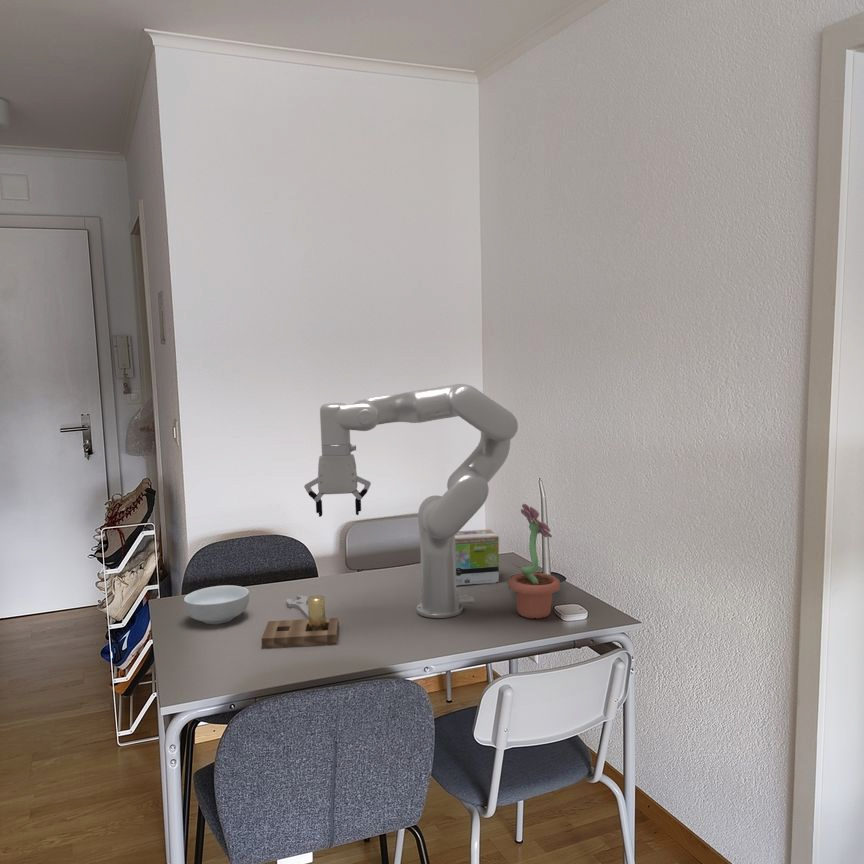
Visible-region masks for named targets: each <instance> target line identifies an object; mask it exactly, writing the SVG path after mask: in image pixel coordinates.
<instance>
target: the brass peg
mask: <svg viewBox="0 0 864 864" xmlns="http://www.w3.org/2000/svg"><path fill="white" fill-rule="evenodd" d="M307 597H308V604H307V606H308V616H309V631H324V630H326V618H327V617H326V602H325V601H326V599H325V596H324V595H320V594H318V595H311V596H307Z"/></svg>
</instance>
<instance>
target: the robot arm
mask: <svg viewBox="0 0 864 864" xmlns="http://www.w3.org/2000/svg"><path fill="white" fill-rule="evenodd" d="M319 417H320V419H319V421H320V439H321V441H320V442H321V445H320V446H321V455H319V456H318V457H319V458H318V466H317V469H318V470H317V477H315V478H314V479H312V480H310V481H309V482H307V483H305V484H304V489H305V491H306V492H307V494H308V496H309V497H310V498H311V499H313V500H314V502H315V511H316V514H318V518H319V517H320V518H321V517H322V516H323V500H322V499H321V498H322V497H323V496H324V495H345V494H346V495H348V494H352V495H353V496H354V498H355V503H354V504H355V505H354V506H355V515H356V516H359V515H360V514H359V513H360V512H362V501H361V500H362V499H363V498H364V496H365V495H366V494H367V493H368V491H369V489H370V487H371V486H372V485H371V484H372V483H371V481H370V480H368V479H365V478H364V477H363V478H362V477H361V476H358V475H357V474H358V473H357V463H356V460H355V455H354V454H352V452H354V451H357V445H356V444H355V445H354V444H351V431H357V432H358V431H359V432H368V431H371V430H373V429H375V428H376V426H378V425H384V424H391V423H411V424H417V423H418V424H419V423H420V424H421V423H427V422H431V421H437V420H443V419H444V420H445V419H450V418H456V417H459V418H461V419H462V420H464V421H465V422H467V424H469V425H471V426H473V428H475V429H477V430H478V431H479V432H480V439H479V441H478V444H477V446H476V447H475V448H474V449H473V451H472V452H471V454H469V456H468V457H467V458H466V459H465V460H464V461H463V462H462V463H461V464H460V465H459V466H458V467H457V468H456V469H455V470H454V471H453V472H452V473H451V474H450V476H449V477H448V479H447V483H446V488H447V491H445V493H444V494H443V495H442V496H441V495H430V496H427V497H426V498H425V499H423V501H422V502H421V503H420V505H419V508H418V513H417V521H418V532H419V542H420V543H419V545H420V550H419V551H420V576H421V577H420V578H421V580H420V581H421V584H420V585H421V602H420V603H419V604H417V605H416V612H417V614H418V615H419V616H421V617H426V618H429V619H430V618H431V619H446V618H452V617H455V616H458V615H460V614H461V613H462V612H463V610H464V608H463V607H464V606H463V605H474V604H475V597H474V596H469V595H468V594H463V595H460V594H459V593H458V590H457V585H456V546H455V534H456V533H457V532H458V531H461V529H463V527H464V526H465V525H466V524H467V523H468V522H470V520H471V519H472V518H473V517H474V515H476V514H477V512H478V511H479V510H480V509H481V508H482V506H483V505H484V504H485V503H486V501H487V499H488V496H489V489H490V488H489V483H490V481H491V480H492V479H493V477H494V476H495V475H496V474H497V473H498V472H499V470H500V469H501V468H502V466H503V465H504V463H505V462H506V461H507V458H508V456H509V451H510V448H511V440H512V439H513V438H514V437H515V436H516V434H517V432H518V429H519V423H518V420H517V417H516V416H515V415H514V414H513V413H512V412H511V411H510V410H508V409H507V408H505V407H503V406H502V405H501V404H500V403H497V402H496V401H495V400H493V399H491V398H490V397H489V396H487V395H486V394H484V393H483V392H482V391H480V390H479V389H477V388H476V387H474V386H472V385H469V384H465V383H457V384H450V385H449V384H448V385H445V386H444V385H443V386H437V387H431V388H425V389H419V390H411V391H406V392H402V393H396V394H390V395H383V396H378V397H370V398H365V399H359V400H357V401H354V403H351V404H346V403H343V402H332V403H331V402H329V403H325V404H322V405H321V406H320V408H319ZM358 483H359V484H361V485H363V488H362V490H361V491H360V492H359V490H358ZM315 485H317V488H318V492H317V494H316V492H315V491H314V490H313V489H312V487H313V486H315Z"/></svg>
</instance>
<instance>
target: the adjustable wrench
mask: <svg viewBox="0 0 864 864" xmlns="http://www.w3.org/2000/svg"><path fill="white" fill-rule="evenodd" d="M308 597H309V596H307V595H296V600H294V599H292V598H286V607H287V608H288V609H289V608H290V609H296V610H299V611H300V612H301V614H302V615H304V617H305V619H309V616H308Z"/></svg>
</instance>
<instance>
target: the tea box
mask: <svg viewBox="0 0 864 864" xmlns="http://www.w3.org/2000/svg"><path fill="white" fill-rule="evenodd" d="M499 541H500V538H499V536H498V535H497V534H496V533H495V532H493V531H492V530H491V529H474V530H459V531H458V532H457V533H456V534H455V546H456V586H464V585H465V586H466V585H479V584H497V583H496V582H498V583H499V580H500V579H499V578H500V577H499V576H500V572H499V571H500V564H499V563H500V562H499V549H500V544H499V543H500V542H499Z"/></svg>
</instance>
